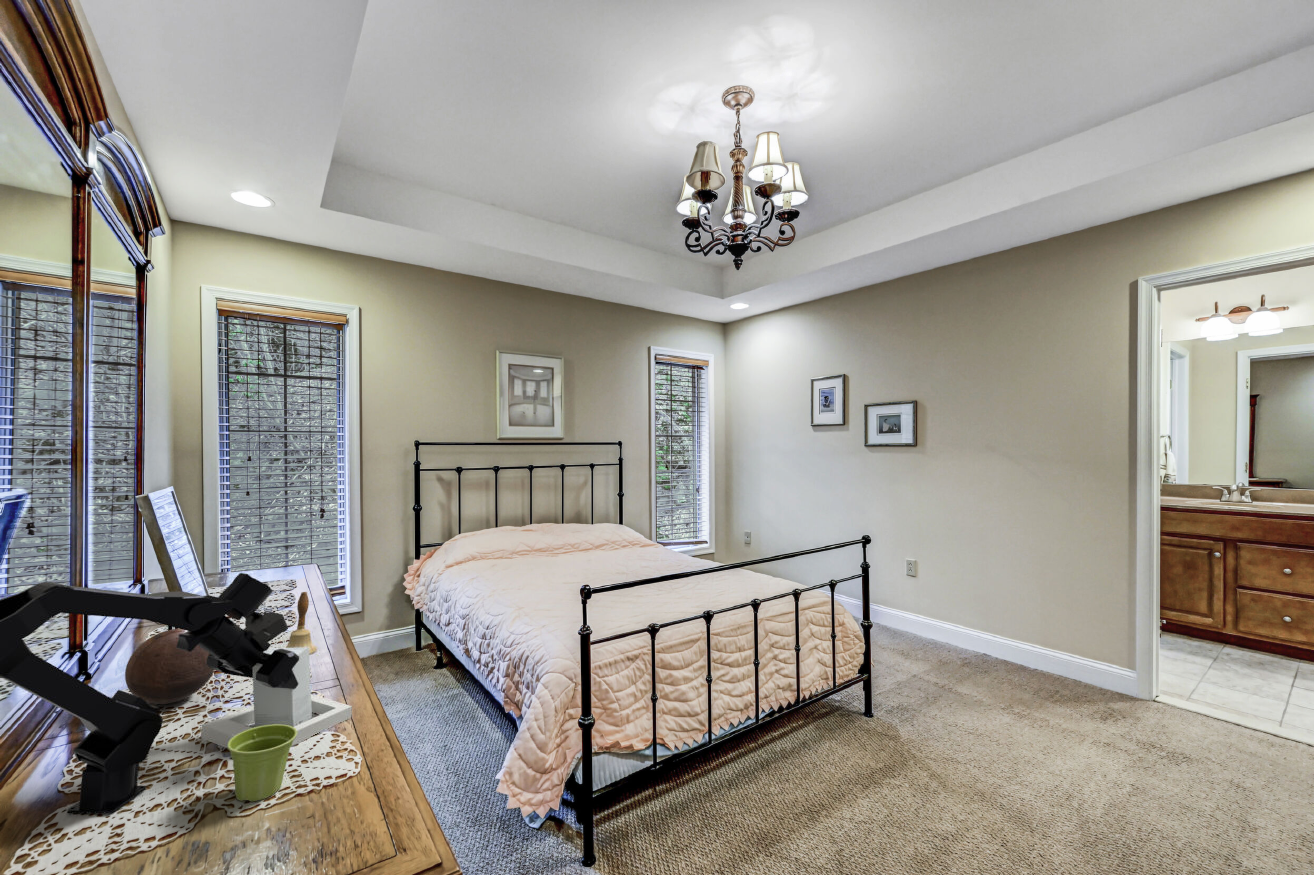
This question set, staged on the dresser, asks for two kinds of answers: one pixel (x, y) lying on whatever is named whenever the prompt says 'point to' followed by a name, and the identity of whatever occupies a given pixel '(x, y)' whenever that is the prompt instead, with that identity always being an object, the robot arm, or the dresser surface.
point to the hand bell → (302, 627)
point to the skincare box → (284, 695)
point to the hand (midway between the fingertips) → (280, 681)
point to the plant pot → (260, 760)
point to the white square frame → (330, 715)
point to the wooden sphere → (166, 669)
